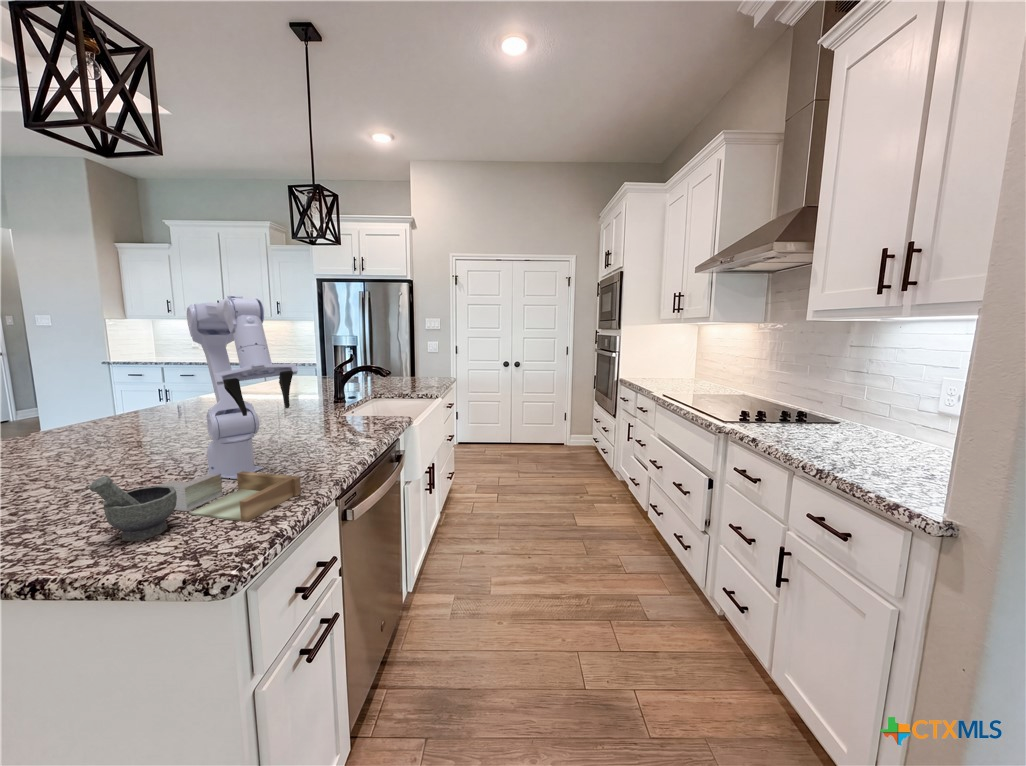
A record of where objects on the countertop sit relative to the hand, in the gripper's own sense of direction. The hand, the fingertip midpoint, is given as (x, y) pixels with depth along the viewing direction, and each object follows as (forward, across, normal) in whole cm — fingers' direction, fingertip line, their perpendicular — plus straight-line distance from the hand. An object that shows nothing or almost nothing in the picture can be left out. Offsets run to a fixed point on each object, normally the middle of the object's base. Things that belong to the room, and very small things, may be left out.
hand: (266, 410), depth 83 cm
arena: (+17, -6, +10) cm, 20 cm away
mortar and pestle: (+17, -23, +6) cm, 29 cm away
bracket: (+12, -15, +17) cm, 26 cm away
